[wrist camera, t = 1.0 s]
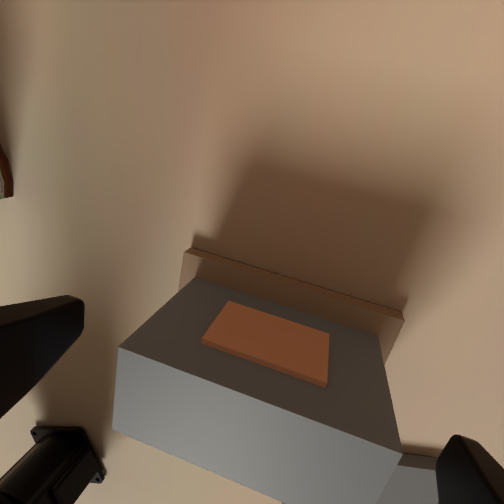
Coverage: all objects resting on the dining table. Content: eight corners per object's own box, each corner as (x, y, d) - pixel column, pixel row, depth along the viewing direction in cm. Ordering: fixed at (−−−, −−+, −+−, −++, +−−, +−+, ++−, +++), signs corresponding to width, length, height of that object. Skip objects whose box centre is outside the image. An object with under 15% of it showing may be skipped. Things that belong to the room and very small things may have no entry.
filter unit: (175, 342, 25) (93, 443, 16) (190, 247, 22) (99, 310, 13) (358, 409, 22) (369, 564, 14) (401, 312, 19) (448, 435, 11)
